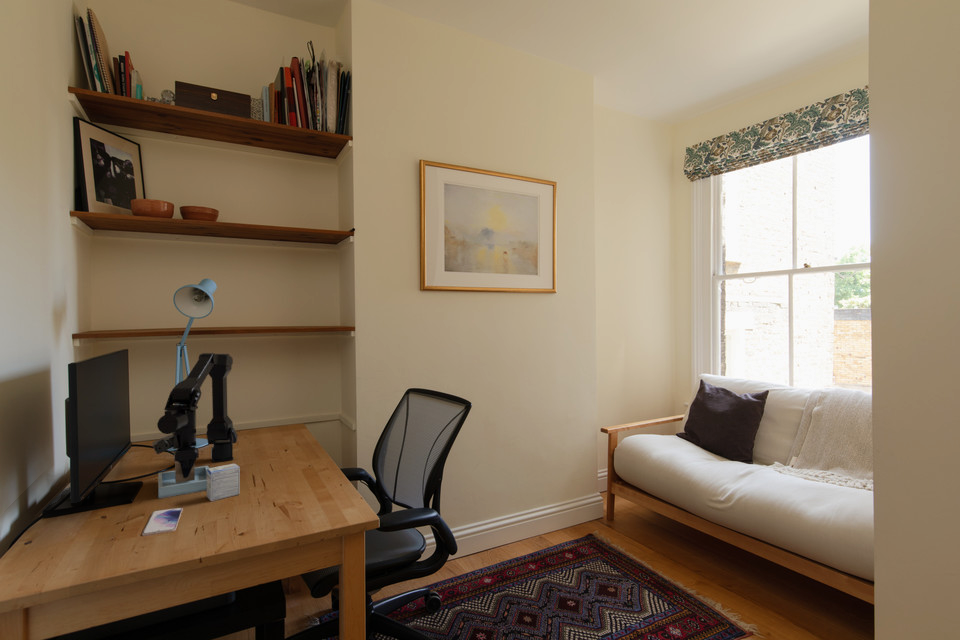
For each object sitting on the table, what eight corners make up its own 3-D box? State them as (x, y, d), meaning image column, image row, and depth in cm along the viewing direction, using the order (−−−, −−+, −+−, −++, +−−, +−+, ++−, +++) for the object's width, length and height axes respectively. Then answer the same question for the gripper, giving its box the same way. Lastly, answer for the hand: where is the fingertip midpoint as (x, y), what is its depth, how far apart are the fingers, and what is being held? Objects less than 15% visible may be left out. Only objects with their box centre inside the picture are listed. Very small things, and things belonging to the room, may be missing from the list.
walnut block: (193, 475, 154) (193, 456, 154) (194, 480, 150) (194, 460, 149) (175, 478, 151) (175, 459, 151) (175, 483, 147) (175, 463, 147)
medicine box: (235, 490, 146) (235, 462, 146) (239, 494, 143) (240, 466, 143) (206, 497, 141) (206, 468, 141) (210, 502, 138) (210, 472, 138)
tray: (208, 474, 161) (208, 465, 161) (212, 489, 148) (213, 479, 148) (158, 482, 153) (158, 473, 153) (158, 498, 140) (158, 488, 140)
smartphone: (183, 507, 133) (175, 529, 119) (183, 510, 133) (175, 532, 119) (152, 510, 130) (141, 534, 116) (152, 514, 130) (141, 537, 116)
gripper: (154, 423, 153) (154, 471, 153) (154, 436, 138) (154, 489, 138) (194, 419, 159) (194, 465, 160) (198, 431, 144) (198, 482, 144)
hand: (185, 475), depth 150 cm, fingers closed on walnut block, 5 cm apart
